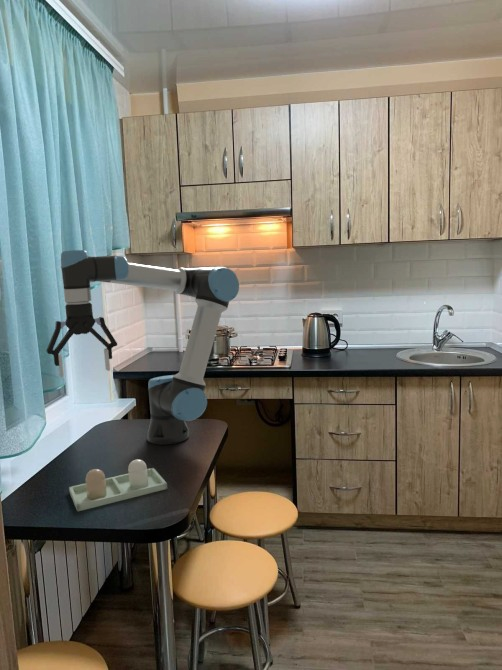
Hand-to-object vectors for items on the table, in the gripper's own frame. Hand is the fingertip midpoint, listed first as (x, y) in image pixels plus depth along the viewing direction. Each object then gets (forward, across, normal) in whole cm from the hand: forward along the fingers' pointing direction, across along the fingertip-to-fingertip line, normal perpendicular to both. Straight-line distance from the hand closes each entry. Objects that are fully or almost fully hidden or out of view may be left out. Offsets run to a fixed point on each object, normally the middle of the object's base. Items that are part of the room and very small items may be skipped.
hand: (85, 373), depth 156 cm
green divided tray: (+32, -3, +19) cm, 37 cm away
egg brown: (+31, +3, +19) cm, 36 cm away
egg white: (+31, -9, +19) cm, 37 cm away
